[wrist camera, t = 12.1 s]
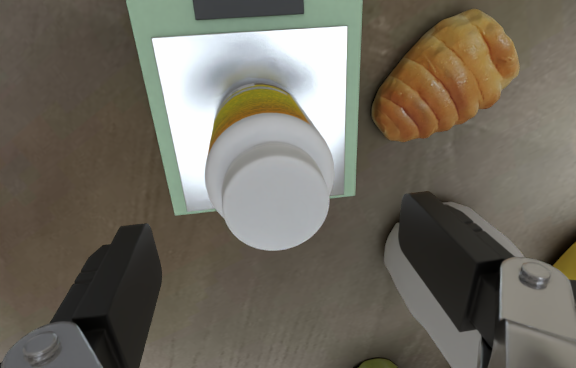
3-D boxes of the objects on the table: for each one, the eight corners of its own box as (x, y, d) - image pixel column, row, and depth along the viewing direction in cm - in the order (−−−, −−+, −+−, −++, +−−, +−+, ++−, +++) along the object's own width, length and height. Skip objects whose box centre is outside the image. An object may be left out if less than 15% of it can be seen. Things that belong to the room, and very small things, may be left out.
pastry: (395, 156, 27) (418, 175, 24) (348, 89, 24) (366, 100, 21) (501, 76, 25) (542, 85, 22) (463, -5, 23) (503, -10, 19)
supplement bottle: (194, 120, 21) (162, 200, 12) (266, 60, 20) (293, 97, 11) (253, 183, 23) (264, 291, 14) (320, 133, 22) (378, 213, 13)
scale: (130, -31, 20) (113, -39, 17) (351, -41, 21) (368, -49, 18) (179, 199, 26) (173, 220, 24) (346, 181, 28) (357, 199, 25)
